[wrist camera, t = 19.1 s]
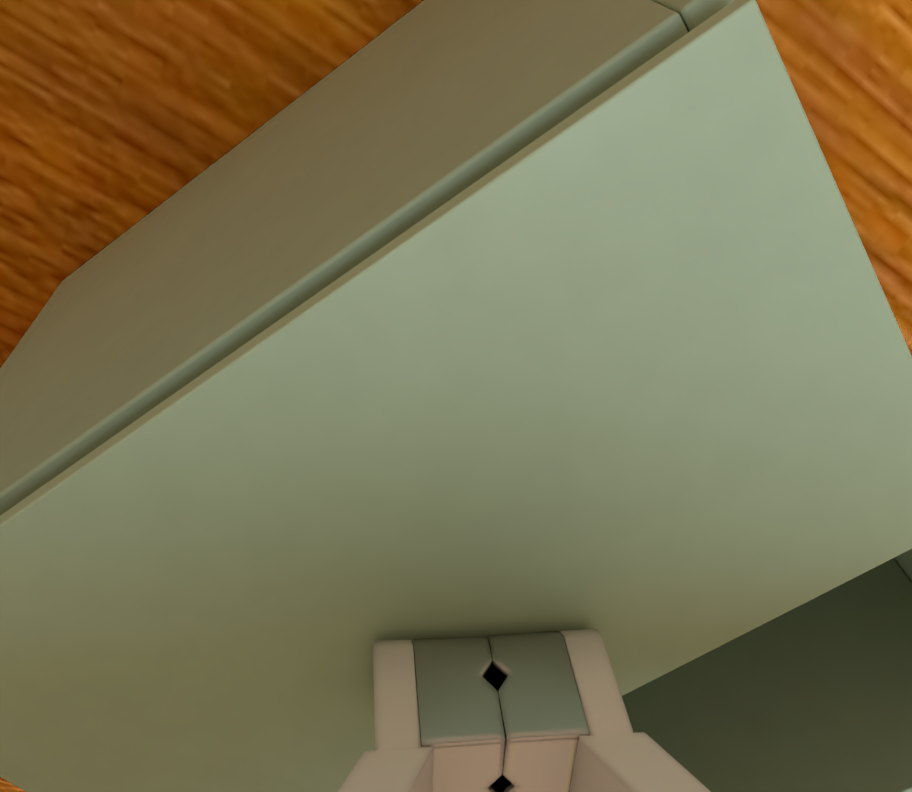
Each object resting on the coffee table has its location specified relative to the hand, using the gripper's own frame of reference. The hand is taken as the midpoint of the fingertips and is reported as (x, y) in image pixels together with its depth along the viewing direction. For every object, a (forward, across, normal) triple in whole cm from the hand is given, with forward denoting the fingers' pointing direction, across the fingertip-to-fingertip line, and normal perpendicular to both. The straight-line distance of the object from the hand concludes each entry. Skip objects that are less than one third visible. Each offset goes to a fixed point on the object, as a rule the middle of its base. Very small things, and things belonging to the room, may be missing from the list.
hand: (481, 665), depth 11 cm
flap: (0, +1, -1) cm, 2 cm away
